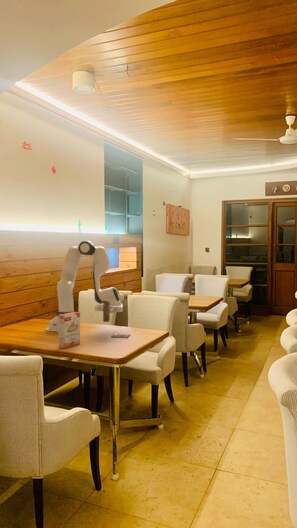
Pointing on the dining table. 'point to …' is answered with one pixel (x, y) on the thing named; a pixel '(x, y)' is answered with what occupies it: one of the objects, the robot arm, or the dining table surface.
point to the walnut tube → (106, 310)
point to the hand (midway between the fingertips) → (106, 310)
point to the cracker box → (69, 329)
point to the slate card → (120, 335)
